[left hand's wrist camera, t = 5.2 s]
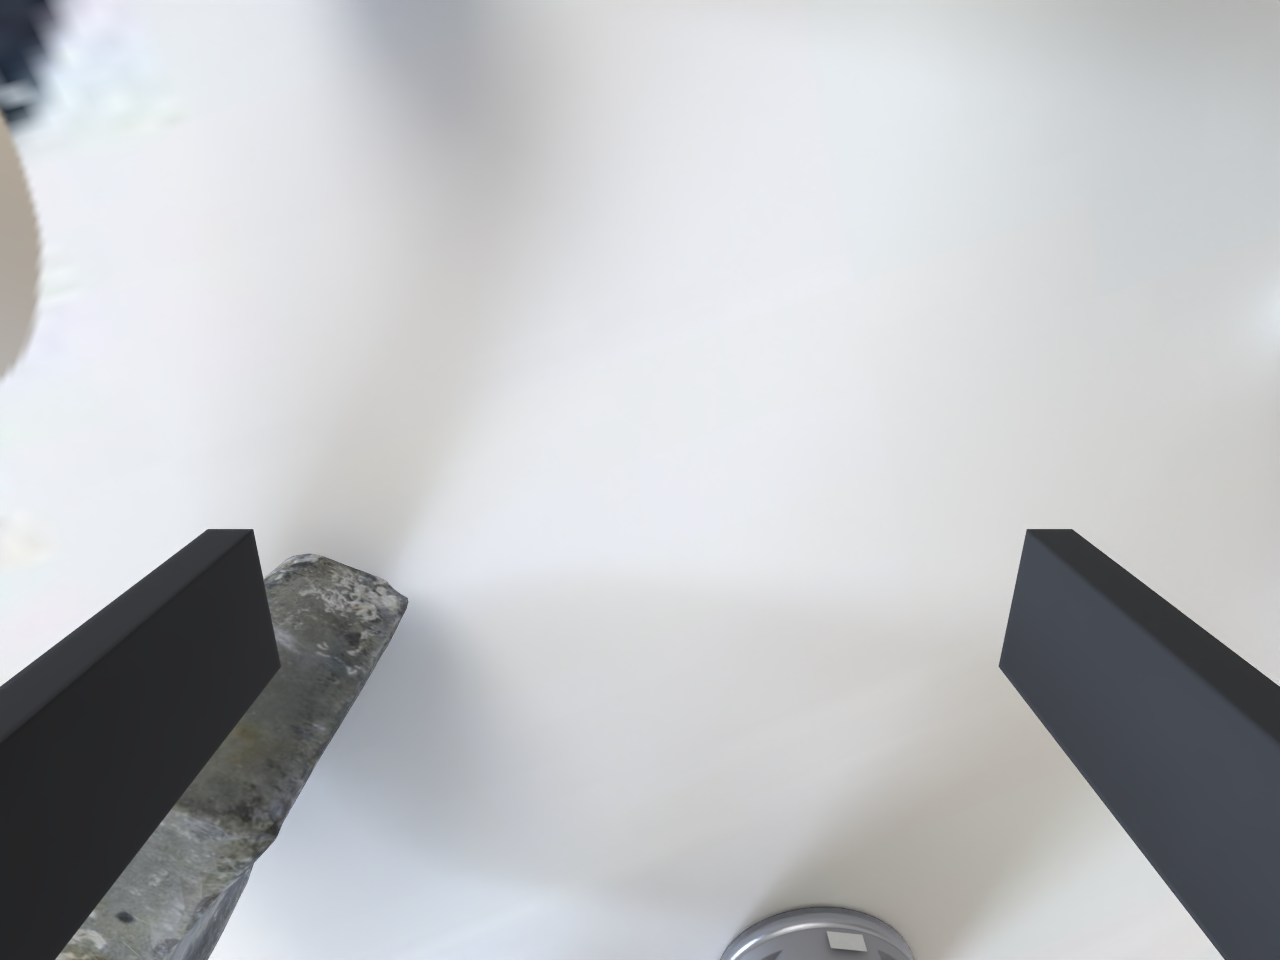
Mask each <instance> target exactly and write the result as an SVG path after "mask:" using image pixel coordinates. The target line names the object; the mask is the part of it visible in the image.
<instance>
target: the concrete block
mask: <svg viewBox="0 0 1280 960" xmlns="http://www.w3.org/2000/svg"><path fill="white" fill-rule="evenodd" d="M263 580H264V585H265V590H266V595H267V600H268V604H269V609H270V614H271V619H272V624H273V629H274V634H275V639H276V643H277V648H278V653H279V658H280V663H281V668H280V669H279V670H278V671H277V673H276V674H275V675H274V677H273V678H272V679H271V681H270V682H269V683H268V684H267V686H266V687H265V688H264V690H263V691H262V692H261V693H260V695H259V696H258V697H257V699H256V700H255V701H254V703H253V704H252V705H251V706H250V708H249V709H248V710H247V712H246V713H245V714H244V716H243V717H242V718H241V719H240V721H239V722H238V723H237V725H236V726H235V727H234V729H233V730H232V731H231V732H230V734H229V735H228V736H227V738H226V739H225V740H224V741H223V743H222V744H221V745H220V747H219V748H218V749H217V751H216V752H215V753H214V754H213V756H212V757H211V758H210V760H209V761H208V762H207V764H206V765H205V766H204V767H203V769H202V770H201V771H200V773H199V774H198V775H197V776H196V778H195V779H194V780H193V782H192V783H191V784H190V786H189V787H188V788H187V789H186V791H185V792H184V793H183V795H182V796H181V797H180V799H179V800H178V801H177V802H176V804H175V805H174V806H173V808H172V809H171V810H170V811H169V813H168V814H167V815H166V817H165V818H164V819H163V821H162V822H161V823H160V824H159V826H158V827H157V828H156V830H155V831H154V832H153V834H152V835H151V836H150V837H149V839H148V840H147V841H146V843H145V844H144V845H143V846H142V848H141V849H140V850H139V852H138V853H137V854H136V856H135V857H134V858H133V859H132V861H131V862H130V863H129V865H128V866H127V867H126V869H125V870H124V871H123V872H122V874H121V875H120V876H119V878H118V879H117V880H116V881H115V883H114V884H113V885H112V887H111V888H110V889H109V891H108V892H107V893H106V894H105V896H104V897H103V898H102V900H101V901H100V902H99V904H98V905H97V906H96V907H95V909H94V910H93V911H92V913H91V914H90V915H89V916H88V918H87V919H86V920H85V922H84V923H83V924H82V926H81V927H80V928H79V929H78V931H77V932H76V933H75V935H74V936H73V937H72V939H71V940H70V941H69V942H68V944H67V945H66V946H65V948H64V949H63V950H62V951H61V953H60V954H59V955H58V957H57V958H56V959H55V960H208V958H209V957H210V955H211V953H212V951H213V950H214V948H215V946H216V944H217V942H218V940H219V938H220V936H221V934H222V933H223V931H224V929H225V927H226V925H227V923H228V921H229V918H230V916H231V914H232V912H233V910H234V908H235V906H236V904H237V902H238V900H239V898H240V896H241V894H242V892H243V890H244V888H245V886H246V884H247V882H248V879H249V876H250V873H251V870H252V867H253V864H254V862H255V861H256V860H257V859H258V858H259V857H260V856H261V855H262V854H263V853H264V852H265V851H266V849H267V848H268V847H269V846H270V845H271V844H272V843H273V842H274V841H275V839H276V837H277V836H278V833H279V831H280V828H281V826H282V823H283V822H284V820H285V818H286V816H287V815H288V813H289V811H290V810H291V808H292V806H293V804H294V803H295V801H296V799H297V797H298V796H299V794H300V792H301V790H302V789H303V787H304V785H305V783H306V781H307V780H308V778H309V776H310V774H311V772H312V771H313V769H314V767H315V765H316V763H317V762H318V760H319V759H320V757H321V755H322V754H323V752H324V750H325V749H326V747H327V746H328V744H329V742H330V741H331V739H332V738H333V736H334V734H335V733H336V731H337V729H338V728H339V726H340V724H341V723H342V721H343V719H344V718H345V716H346V714H347V713H348V711H349V709H350V708H351V706H352V705H353V703H354V701H355V700H356V698H357V696H358V695H359V693H360V692H361V690H362V688H363V687H364V685H365V683H366V681H367V680H368V678H369V676H370V674H371V673H372V671H373V669H374V668H375V666H376V664H377V662H378V660H379V659H380V657H381V655H382V653H383V652H384V650H385V649H386V647H387V646H388V644H389V642H390V640H391V638H392V636H393V634H394V632H395V630H396V628H397V626H398V624H399V622H400V620H401V618H402V616H403V614H404V612H405V611H406V608H407V605H408V598H407V597H405V596H403V595H401V594H400V593H398V592H397V591H396V590H394V589H393V588H392V587H391V586H390V585H389V584H388V582H387V581H385V580H383V579H381V578H378V577H376V576H374V575H371V574H368V573H365V572H363V571H360V570H357V569H354V568H352V567H349V566H346V565H344V564H341V563H339V562H336V561H334V560H331V559H328V558H326V557H323V556H320V555H315V554H304V555H298V556H293V557H290V558H288V559H286V560H285V561H284V562H283V563H282V564H281V565H280V566H278V567H277V568H276V569H275V570H274V571H272V572H271V573H270V574H269V575H268V576H267V577H265V578H264V579H263Z"/></svg>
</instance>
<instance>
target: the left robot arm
mask: <svg viewBox="0 0 1280 960" xmlns="http://www.w3.org/2000/svg"><path fill="white" fill-rule="evenodd" d="M280 668H281V663H280V658H279V653H278V648H277V643H276V639H275V634H274V629H273V624H272V619H271V614H270V609H269V604H268V600H267V595H266V590H265V585H264V580H263V575H262V570H261V565H260V561H259V556H258V551H257V546H256V541H255V536H254V531H253V529H208V530H206V531H205V532H204V533H202V534H201V535H200V536H198V537H197V538H196V539H194V540H193V541H192V542H190V543H189V544H188V545H187V546H185V547H184V548H183V549H181V550H180V551H179V552H177V553H176V554H175V555H173V556H172V557H171V558H169V559H168V560H167V561H165V562H164V563H163V564H161V565H160V566H159V567H158V568H156V569H155V570H154V571H152V572H151V573H150V574H148V575H147V576H146V577H144V578H143V579H142V580H140V581H139V582H138V583H136V584H135V585H134V586H132V587H131V588H130V589H129V590H127V591H126V592H125V593H123V594H122V595H121V596H119V597H118V598H117V599H115V600H114V601H113V602H111V603H110V604H109V605H107V606H106V607H105V608H103V609H102V610H101V611H100V612H98V613H97V614H96V615H94V616H93V617H92V618H90V619H89V620H88V621H86V622H85V623H84V624H82V625H81V626H80V627H78V628H77V629H76V630H74V631H73V632H72V633H71V634H69V635H68V636H67V637H65V638H64V639H63V640H61V641H60V642H59V643H57V644H56V645H55V646H53V647H52V648H51V649H49V650H48V651H47V652H45V653H44V654H43V655H42V656H40V657H39V658H38V659H36V660H35V661H34V662H32V663H31V664H30V665H28V666H27V667H26V668H24V669H23V670H22V671H20V672H19V673H18V674H16V675H15V676H14V677H13V678H11V679H10V680H9V681H7V682H6V683H5V684H3V685H2V686H1V687H0V960H55V959H56V958H57V957H58V955H59V954H60V953H61V951H62V950H63V949H64V948H65V946H66V945H67V944H68V942H69V941H70V940H71V939H72V937H73V936H74V935H75V933H76V932H77V931H78V929H79V928H80V927H81V926H82V924H83V923H84V922H85V920H86V919H87V918H88V916H89V915H90V914H91V913H92V911H93V910H94V909H95V907H96V906H97V905H98V904H99V902H100V901H101V900H102V898H103V897H104V896H105V894H106V893H107V892H108V891H109V889H110V888H111V887H112V885H113V884H114V883H115V881H116V880H117V879H118V878H119V876H120V875H121V874H122V872H123V871H124V870H125V869H126V867H127V866H128V865H129V863H130V862H131V861H132V859H133V858H134V857H135V856H136V854H137V853H138V852H139V850H140V849H141V848H142V846H143V845H144V844H145V843H146V841H147V840H148V839H149V837H150V836H151V835H152V834H153V832H154V831H155V830H156V828H157V827H158V826H159V824H160V823H161V822H162V821H163V819H164V818H165V817H166V815H167V814H168V813H169V811H170V810H171V809H172V808H173V806H174V805H175V804H176V802H177V801H178V800H179V799H180V797H181V796H182V795H183V793H184V792H185V791H186V789H187V788H188V787H189V786H190V784H191V783H192V782H193V780H194V779H195V778H196V776H197V775H198V774H199V773H200V771H201V770H202V769H203V767H204V766H205V765H206V764H207V762H208V761H209V760H210V758H211V757H212V756H213V754H214V753H215V752H216V751H217V749H218V748H219V747H220V745H221V744H222V743H223V741H224V740H225V739H226V738H227V736H228V735H229V734H230V732H231V731H232V730H233V729H234V727H235V726H236V725H237V723H238V722H239V721H240V719H241V718H242V717H243V716H244V714H245V713H246V712H247V710H248V709H249V708H250V706H251V705H252V704H253V703H254V701H255V700H256V699H257V697H258V696H259V695H260V693H261V692H262V691H263V690H264V688H265V687H266V686H267V684H268V683H269V682H270V681H271V679H272V678H273V677H274V675H275V674H276V673H277V671H278V670H279V669H280ZM999 668H1000V669H1001V670H1002V671H1003V673H1004V674H1005V675H1006V677H1007V678H1008V679H1009V681H1010V682H1011V683H1012V684H1013V686H1014V687H1015V688H1016V690H1017V691H1018V692H1019V694H1020V695H1021V696H1022V697H1023V699H1024V700H1025V701H1026V703H1027V704H1028V705H1029V706H1030V708H1031V709H1032V710H1033V712H1034V713H1035V714H1036V716H1037V717H1038V718H1039V719H1040V721H1041V722H1042V723H1043V725H1044V726H1045V727H1046V729H1047V730H1048V731H1049V732H1050V734H1051V735H1052V736H1053V738H1054V739H1055V740H1056V741H1057V743H1058V744H1059V745H1060V747H1061V748H1062V749H1063V751H1064V752H1065V753H1066V754H1067V756H1068V757H1069V758H1070V760H1071V761H1072V762H1073V764H1074V765H1075V766H1076V767H1077V769H1078V770H1079V771H1080V773H1081V774H1082V775H1083V776H1084V778H1085V779H1086V780H1087V782H1088V783H1089V784H1090V786H1091V787H1092V788H1093V789H1094V791H1095V792H1096V793H1097V795H1098V796H1099V797H1100V799H1101V800H1102V801H1103V802H1104V804H1105V805H1106V806H1107V808H1108V809H1109V810H1110V811H1111V813H1112V814H1113V815H1114V817H1115V818H1116V819H1117V821H1118V822H1119V823H1120V824H1121V826H1122V827H1123V828H1124V830H1125V831H1126V832H1127V834H1128V835H1129V836H1130V837H1131V839H1132V840H1133V841H1134V843H1135V844H1136V845H1137V846H1138V848H1139V849H1140V850H1141V852H1142V853H1143V854H1144V856H1145V857H1146V858H1147V859H1148V861H1149V862H1150V863H1151V865H1152V866H1153V867H1154V869H1155V870H1156V871H1157V872H1158V874H1159V875H1160V876H1161V878H1162V879H1163V880H1164V881H1165V883H1166V884H1167V885H1168V887H1169V888H1170V889H1171V891H1172V892H1173V893H1174V894H1175V896H1176V897H1177V898H1178V900H1179V901H1180V902H1181V904H1182V905H1183V906H1184V907H1185V909H1186V910H1187V911H1188V913H1189V914H1190V915H1191V916H1192V918H1193V919H1194V920H1195V922H1196V923H1197V924H1198V926H1199V927H1200V928H1201V929H1202V931H1203V932H1204V933H1205V935H1206V936H1207V937H1208V939H1209V940H1210V941H1211V942H1212V944H1213V945H1214V946H1215V948H1216V949H1217V950H1218V951H1219V953H1220V954H1221V955H1222V957H1223V958H1224V959H1225V960H1280V686H1278V685H1277V684H1275V683H1274V682H1273V681H1271V680H1270V679H1269V678H1267V677H1266V676H1265V675H1264V674H1262V673H1261V672H1260V671H1258V670H1257V669H1256V668H1254V667H1253V666H1252V665H1250V664H1249V663H1248V662H1246V661H1245V660H1244V659H1242V658H1241V657H1240V656H1238V655H1237V654H1236V653H1235V652H1233V651H1232V650H1231V649H1229V648H1228V647H1227V646H1225V645H1224V644H1223V643H1221V642H1220V641H1219V640H1217V639H1216V638H1215V637H1213V636H1212V635H1211V634H1209V633H1208V632H1207V631H1206V630H1204V629H1203V628H1202V627H1200V626H1199V625H1198V624H1196V623H1195V622H1194V621H1192V620H1191V619H1190V618H1188V617H1187V616H1186V615H1184V614H1183V613H1182V612H1180V611H1179V610H1178V609H1177V608H1175V607H1174V606H1173V605H1171V604H1170V603H1169V602H1167V601H1166V600H1165V599H1163V598H1162V597H1161V596H1159V595H1158V594H1157V593H1155V592H1154V591H1153V590H1151V589H1150V588H1149V587H1148V586H1146V585H1145V584H1144V583H1142V582H1141V581H1140V580H1138V579H1137V578H1136V577H1134V576H1133V575H1132V574H1130V573H1129V572H1128V571H1126V570H1125V569H1124V568H1122V567H1121V566H1120V565H1119V564H1117V563H1116V562H1115V561H1113V560H1112V559H1111V558H1109V557H1108V556H1107V555H1105V554H1104V553H1103V552H1101V551H1100V550H1099V549H1097V548H1096V547H1095V546H1093V545H1092V544H1091V543H1090V542H1088V541H1087V540H1086V539H1084V538H1083V537H1082V536H1080V535H1079V534H1078V533H1076V532H1075V531H1074V530H1072V529H1027V531H1026V536H1025V541H1024V546H1023V551H1022V556H1021V561H1020V565H1019V570H1018V575H1017V580H1016V585H1015V590H1014V595H1013V600H1012V604H1011V609H1010V614H1009V619H1008V624H1007V629H1006V634H1005V639H1004V643H1003V648H1002V653H1001V658H1000V663H999ZM720 960H914V958H913V956H912V953H911V951H910V949H909V947H908V945H907V944H906V942H905V941H904V939H903V938H902V937H901V936H900V935H899V934H898V933H897V932H896V931H895V930H894V929H893V928H891V927H890V926H888V925H887V924H885V923H884V922H882V921H880V920H878V919H876V918H874V917H872V916H869V915H867V914H864V913H861V912H857V911H853V910H848V909H842V908H832V907H814V908H804V909H798V910H792V911H788V912H784V913H781V914H778V915H775V916H772V917H770V918H767V919H765V920H763V921H761V922H759V923H757V924H755V925H753V926H752V927H750V928H749V929H747V930H746V931H744V932H743V933H742V934H740V935H739V936H738V937H737V938H736V939H735V940H734V941H733V942H732V943H731V944H730V945H729V946H728V948H727V949H726V951H725V952H724V953H723V955H722V957H721V959H720Z"/></svg>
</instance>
